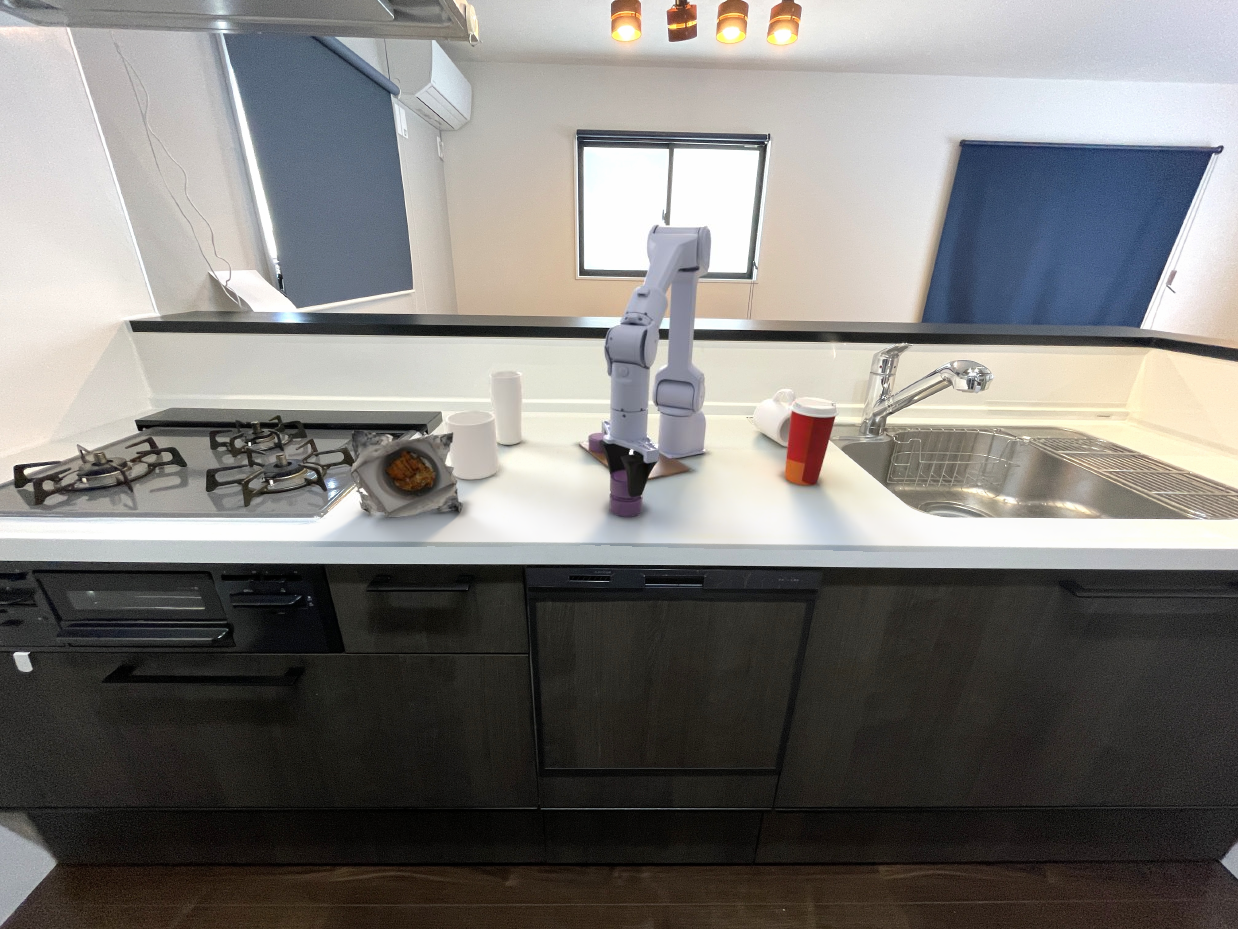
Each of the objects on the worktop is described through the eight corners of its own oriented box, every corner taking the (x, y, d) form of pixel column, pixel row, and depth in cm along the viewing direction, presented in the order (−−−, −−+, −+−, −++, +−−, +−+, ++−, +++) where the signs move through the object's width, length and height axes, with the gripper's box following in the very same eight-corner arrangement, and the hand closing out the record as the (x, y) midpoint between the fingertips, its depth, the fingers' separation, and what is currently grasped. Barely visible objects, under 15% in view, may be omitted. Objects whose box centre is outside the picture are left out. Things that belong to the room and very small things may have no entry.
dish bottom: (631, 498, 84) (632, 484, 83) (648, 512, 80) (649, 497, 79) (603, 505, 82) (603, 490, 81) (619, 519, 78) (619, 504, 77)
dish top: (606, 442, 108) (606, 430, 107) (618, 450, 103) (618, 438, 102) (584, 446, 105) (584, 434, 104) (595, 454, 101) (595, 442, 100)
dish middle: (632, 481, 83) (633, 466, 82) (649, 494, 79) (650, 478, 78) (604, 487, 81) (604, 472, 80) (619, 501, 76) (620, 485, 75)
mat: (634, 435, 114) (634, 433, 113) (690, 470, 96) (690, 468, 96) (578, 444, 107) (578, 442, 107) (628, 484, 90) (628, 482, 90)
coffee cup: (823, 473, 96) (838, 399, 90) (824, 491, 89) (841, 411, 83) (778, 467, 99) (790, 394, 93) (776, 483, 92) (789, 405, 86)
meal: (463, 502, 82) (455, 427, 76) (459, 515, 78) (450, 437, 73) (368, 506, 80) (352, 429, 74) (358, 519, 76) (342, 439, 71)
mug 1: (497, 454, 101) (493, 404, 97) (499, 478, 90) (495, 423, 86) (454, 457, 99) (448, 406, 95) (450, 482, 88) (443, 426, 84)
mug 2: (780, 430, 119) (788, 381, 115) (806, 445, 110) (816, 393, 105) (750, 433, 117) (757, 383, 112) (774, 448, 108) (782, 395, 103)
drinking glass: (518, 448, 104) (514, 378, 98) (488, 445, 105) (482, 376, 100) (529, 437, 110) (526, 371, 104) (501, 434, 112) (496, 369, 106)
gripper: (584, 397, 78) (585, 475, 84) (629, 424, 67) (626, 512, 72) (623, 392, 81) (621, 467, 87) (673, 417, 70) (667, 502, 75)
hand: (626, 487), depth 80 cm, fingers closed on dish middle, 5 cm apart
